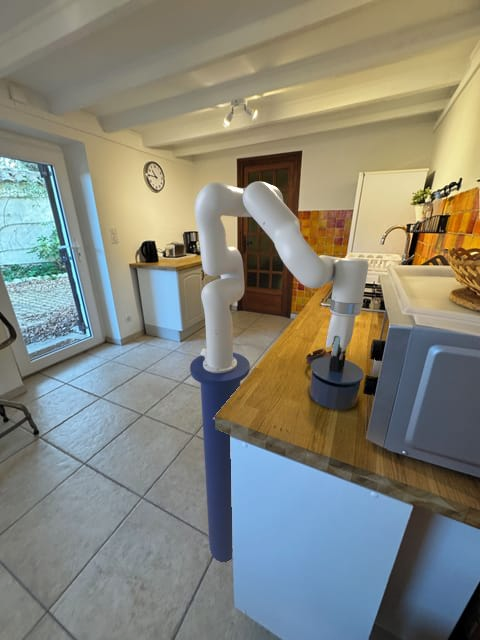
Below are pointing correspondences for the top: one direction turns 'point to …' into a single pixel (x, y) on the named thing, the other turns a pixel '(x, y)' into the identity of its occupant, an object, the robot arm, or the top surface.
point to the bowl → (333, 393)
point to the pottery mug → (317, 355)
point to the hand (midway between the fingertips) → (336, 368)
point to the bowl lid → (346, 376)
